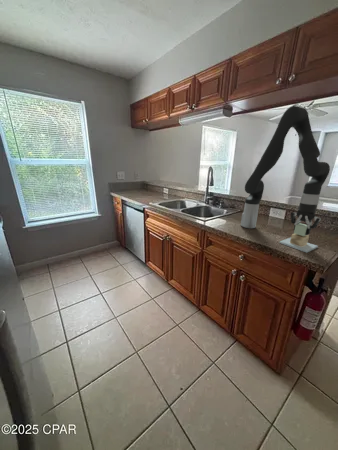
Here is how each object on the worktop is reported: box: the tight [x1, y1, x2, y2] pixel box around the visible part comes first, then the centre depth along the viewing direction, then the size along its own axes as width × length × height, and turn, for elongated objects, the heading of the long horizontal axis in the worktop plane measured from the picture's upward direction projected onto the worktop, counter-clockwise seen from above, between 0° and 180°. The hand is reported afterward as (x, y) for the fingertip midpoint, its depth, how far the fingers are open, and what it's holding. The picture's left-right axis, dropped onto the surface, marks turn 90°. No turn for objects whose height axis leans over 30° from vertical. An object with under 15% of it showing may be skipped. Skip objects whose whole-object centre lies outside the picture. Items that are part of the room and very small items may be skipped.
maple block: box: [290, 232, 310, 247], centre depth 103 cm, size 6×6×5 cm
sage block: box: [293, 222, 307, 236], centre depth 101 cm, size 5×5×5 cm
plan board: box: [279, 236, 319, 253], centre depth 104 cm, size 14×12×1 cm
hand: (301, 232), depth 101 cm, fingers closed on sage block, 4 cm apart
